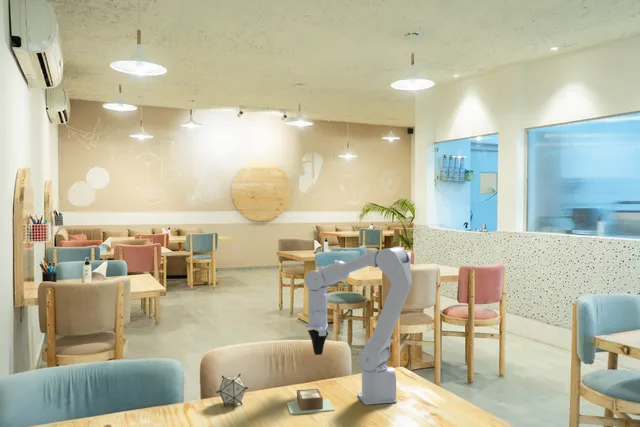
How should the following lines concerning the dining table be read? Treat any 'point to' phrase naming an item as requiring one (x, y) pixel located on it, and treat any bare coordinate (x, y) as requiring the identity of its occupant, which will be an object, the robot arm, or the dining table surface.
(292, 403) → the sage mat
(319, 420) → the dining table surface
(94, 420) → the dining table surface
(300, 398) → the walnut frame
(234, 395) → the game die
